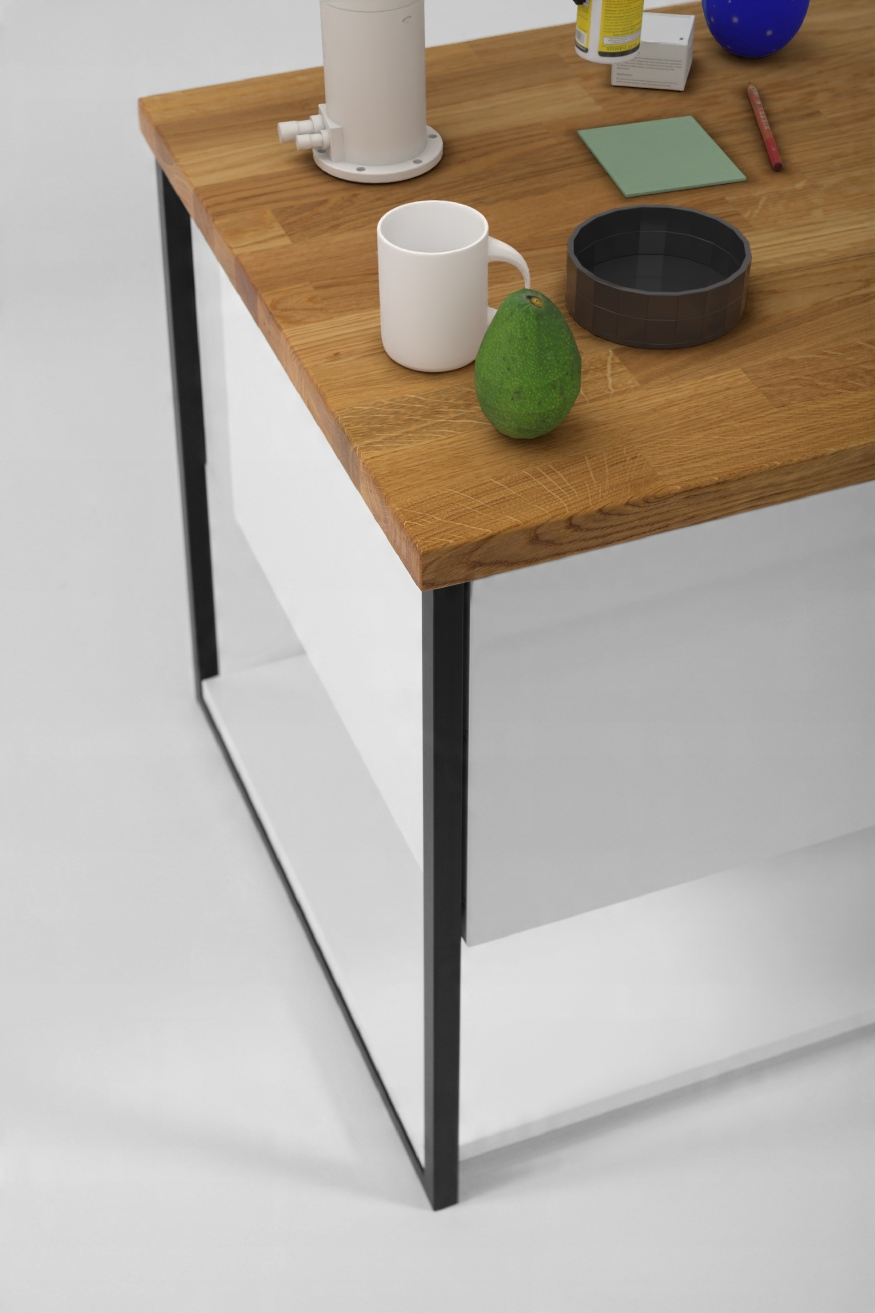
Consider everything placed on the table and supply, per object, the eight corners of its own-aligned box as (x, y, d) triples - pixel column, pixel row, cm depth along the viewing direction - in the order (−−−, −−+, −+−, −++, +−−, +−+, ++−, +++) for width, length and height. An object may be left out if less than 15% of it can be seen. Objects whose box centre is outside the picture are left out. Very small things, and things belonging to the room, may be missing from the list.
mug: (533, 371, 130) (538, 250, 122) (383, 377, 129) (378, 256, 122) (523, 314, 136) (527, 196, 129) (379, 320, 136) (375, 201, 128)
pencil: (783, 171, 154) (784, 162, 154) (771, 171, 154) (773, 162, 154) (753, 86, 168) (755, 77, 168) (743, 86, 168) (744, 77, 168)
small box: (693, 62, 173) (697, 13, 169) (684, 93, 167) (688, 43, 164) (620, 56, 174) (623, 8, 171) (608, 86, 169) (611, 37, 165)
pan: (599, 361, 131) (603, 306, 127) (542, 270, 141) (544, 217, 138) (772, 333, 133) (780, 279, 130) (703, 246, 144) (709, 194, 141)
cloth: (625, 197, 151) (626, 194, 151) (577, 133, 161) (577, 130, 161) (746, 180, 153) (746, 177, 153) (690, 118, 163) (691, 115, 163)
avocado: (483, 466, 121) (485, 324, 112) (465, 406, 126) (465, 268, 118) (589, 455, 121) (598, 314, 113) (566, 396, 127) (573, 258, 119)
